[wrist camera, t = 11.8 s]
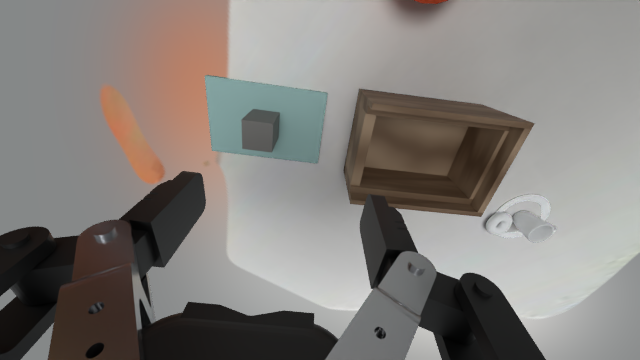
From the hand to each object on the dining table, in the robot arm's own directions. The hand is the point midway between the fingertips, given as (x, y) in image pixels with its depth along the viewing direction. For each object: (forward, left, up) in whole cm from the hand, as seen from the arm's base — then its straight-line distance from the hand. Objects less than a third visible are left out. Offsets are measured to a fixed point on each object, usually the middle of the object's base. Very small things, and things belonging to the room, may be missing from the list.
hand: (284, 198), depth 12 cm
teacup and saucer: (+9, +30, -18) cm, 36 cm away
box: (+2, +13, -18) cm, 22 cm away
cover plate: (+2, -4, -18) cm, 19 cm away
